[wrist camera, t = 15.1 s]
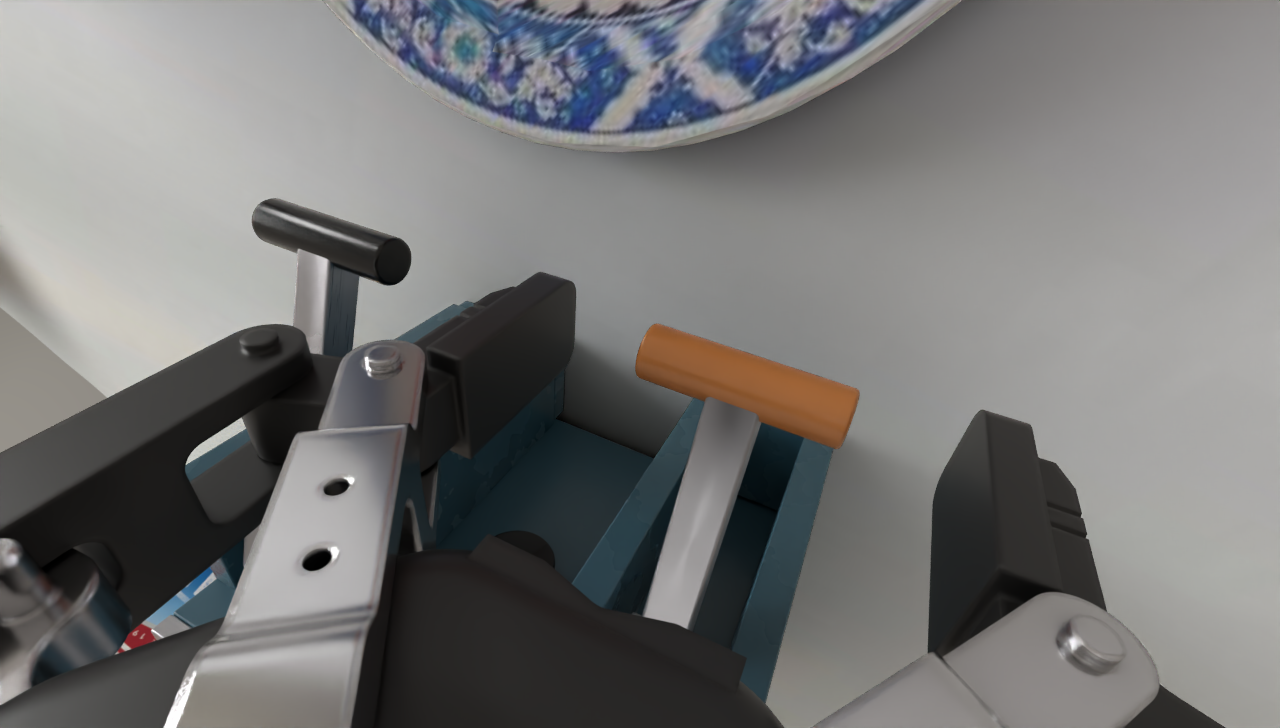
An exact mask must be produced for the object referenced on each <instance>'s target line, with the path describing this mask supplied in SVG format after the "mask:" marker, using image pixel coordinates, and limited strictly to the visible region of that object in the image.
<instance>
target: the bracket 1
mask: <svg viewBox="0 0 1280 728" xmlns="http://www.w3.org/2000/svg"><path fill="white" fill-rule="evenodd" d="M470 306H471V307H473V306H474V303H472V302H469V301H465V302H464V303H462V304H460V305H459V306H458V305H455V304H453V305H451V306H450V307H448V308H446V309H445V310H443V311H441V312H440V313H438V314H436V315H435V316H433V317H431V318H430V319H428V320H426V321H425V322H423V323H421V324H420V325H418V326H416V327H415V328H413V329H411V330H410V331H408V332H406V333H405V334H403V335H401V336H400V337H398V338H396V339H395V340H401V341H406V342H410V343H412V344H413V343H414V342H416V341H417V340H419V339H420V338H422V337H423V336H425V335H427V334H428V333H430V332H431V331H433V330H434V329H436V328H437V327H439V326H440V325H442V324H444V323H445V322H447V321H448V320H450V319H451V318H453V317H454V316H456V315H458V316H459V315H460V313H461V312H462V311H464V310H465V309H467V308H468V307H470ZM564 371H565V369H564V370H563V371H562V372H561V373H560V374H559V375H558V376H557V377H556V378H555V379H554V380H553V381H552V382H550V383H549V384H548V385H547V386H546V387H545V388H544V389H543V390H542V391H541V392H540V393H539V394H538V395H537V396H536V397H535V398H534V399H533V400H532V401H531V402H530V403H529V404H528V405H527V406H526V407H525V408H524V409H523V410H521V411H520V412H519V413H518V414H517V415H516V416H515V417H514V418H513V419H512V420H511V421H510V422H509V423H508V424H507V425H506V426H505V427H504V428H503V429H502V430H501V431H500V432H499V433H498V434H497V435H496V436H495V437H493V438H492V439H491V440H490V441H489V442H488V443H487V444H486V445H485V446H484V447H483V448H482V449H481V450H480V451H479V452H478V453H477V454H476V455H475V456H474V457H473V458H472V459H471V460H470V459H468V458H466V457H463V456H461V455H459V454H457V453H454V452H452V451H450V450H449V451H448V452H447V453H445V454H444V455H443V456H442V457H441V458H440V460H441V482H440V495H439V508H438V520H437V533H436V547H437V546H438V545H439V544H440V543H441V542H442V541H443V540H444V539H445V538H446V537H447V536H448V535H449V534H450V533H451V532H452V531H453V529H454V528H455V527H456V526H457V525H458V524H459V523H460V522H461V521H462V520H463V519H464V518H465V517H466V516H467V515H468V514H469V513H470V512H471V511H472V509H473V508H474V507H475V506H476V505H477V504H478V503H479V502H480V501H481V500H482V499H483V498H484V497H485V496H486V495H487V494H488V493H489V492H490V491H491V489H492V488H493V487H494V486H495V485H496V484H497V483H498V482H499V481H500V480H501V479H502V478H503V477H504V476H505V475H506V474H507V473H508V472H509V471H510V469H511V468H512V467H513V466H514V465H515V464H516V463H517V462H518V461H519V460H520V459H521V458H522V457H523V456H524V455H525V454H526V453H527V452H528V451H529V449H530V448H531V447H532V446H533V445H534V444H535V443H536V442H537V441H538V440H539V439H540V438H541V437H542V436H543V435H544V434H545V433H546V432H547V431H548V429H549V428H550V427H551V426H552V425H553V424H554V420H555V419H556V417H557V416H558V415H559V414H560V413H561V412H562V411H563V400H564ZM250 440H251V439H250V436H249V434H248V432H247V429H245V430H243V431H242V432H240V433H238V434H237V435H235V436H233V437H232V438H230V439H228V440H227V441H225V442H223V443H222V444H220V445H218V446H217V447H215V448H213V449H212V450H210V451H208V452H207V453H205V454H203V455H202V456H200V457H198V458H197V459H195V460H193V461H192V462H190V463H188V464H187V465H185V472H186V475H187V477H188V479H189V481H192V480H193V479H194V478H196V477H197V476H199V475H200V474H202V473H203V472H205V471H206V470H208V469H209V468H210V467H212V466H213V465H215V464H216V463H218V462H219V461H221V460H222V459H224V458H225V457H226V456H228V455H229V454H231V453H232V452H234V451H235V450H237V449H238V448H240V447H241V446H242V445H244V444H245V443H247V442H248V441H250ZM243 550H244V539H242V540H241V541H240V542H239V543H238V544H236V545H235V546H234V547H233V548H232V549H230V550H229V551H228V552H227V553H226V554H224V555H223V556H222V557H221V558H220V559H218V560H217V561H216V562H215V563H214V564H212V565H211V566H210V568H211V570H212V571H213V573H214V575H215V577H216V578H217V579H218V580H220V581H222V582H223V583H225V584H226V585H228V586H230V587H231V588H233V589H234V590H236V588H237V585H238V582H239V580H240V577H241V575H242V572H243V569H244V566H243Z"/></svg>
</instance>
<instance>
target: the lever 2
mask: <svg viewBox="0 0 1280 728" xmlns="http://www.w3.org/2000/svg"><path fill="white" fill-rule="evenodd" d="M635 371H636V375H637V376H638V377H639V378H641V379H643V380H646V381H649V382H652V383H654V384H657V385H660V386H663V387H665V388H668V389H671V390H674V391H676V392H679V393H682V394H685V395H687V396H690V397H693V398H696V399H699V400H701V401H704V406H703V409H702V412H701V416H700V419H699V423H698V426H697V429H696V433H695V436H694V440H693V443H692V447H691V450H690V453H689V457H688V460H687V464H686V467H685V470H684V474H683V477H682V481H681V484H680V487H679V491H678V494H677V498H676V501H675V505H674V508H673V511H672V515H671V518H670V522H669V525H668V528H667V532H666V535H665V539H664V542H663V545H662V549H661V552H660V556H659V559H658V562H657V566H656V569H655V573H654V576H653V580H652V583H651V586H650V590H649V593H648V597H647V600H646V603H645V607H644V610H643V614H642V617H647V618H652V619H656V620H661V621H666V622H671V623H675V624H678V625H680V626H682V627H684V628H686V629H688V630H690V631H693V628H694V625H695V622H696V619H697V616H698V613H699V610H700V607H701V604H702V601H703V598H704V595H705V592H706V589H707V586H708V583H709V580H710V577H711V574H712V571H713V568H714V565H715V562H716V559H717V556H718V553H719V550H720V546H721V543H722V540H723V537H724V534H725V531H726V528H727V525H728V522H729V519H730V516H731V513H732V510H733V507H734V504H735V501H736V498H737V495H738V492H739V489H740V486H741V483H742V480H743V477H744V474H745V471H746V468H747V465H748V461H749V458H750V455H751V452H752V449H753V446H754V443H755V440H756V437H757V434H758V431H759V428H760V425H761V422H762V423H765V424H768V425H770V426H773V427H776V428H779V429H781V430H784V431H787V432H790V433H792V434H795V435H798V436H801V437H803V438H806V439H809V440H812V441H814V442H817V443H820V444H823V445H826V446H828V447H831V448H834V449H839V448H840V447H841V446H842V444H843V442H844V440H845V438H846V435H847V433H848V430H849V427H850V425H851V422H852V419H853V416H854V413H855V410H856V407H857V404H858V400H859V396H860V393H859V390H858V389H857V388H853V387H850V386H847V385H844V384H841V383H838V382H835V381H832V380H829V379H826V378H823V377H820V376H817V375H814V374H811V373H808V372H805V371H802V370H799V369H795V368H792V367H789V366H786V365H783V364H780V363H777V362H774V361H771V360H768V359H765V358H762V357H759V356H756V355H753V354H750V353H747V352H744V351H741V350H737V349H734V348H731V347H728V346H725V345H722V344H719V343H716V342H713V341H710V340H707V339H704V338H701V337H698V336H695V335H692V334H689V333H686V332H683V331H680V330H676V329H673V328H670V327H667V326H664V325H661V324H654V325H652V326H651V327H650V328H649V330H648V331H647V333H646V334H645V336H644V338H643V340H642V342H641V345H640V347H639V350H638V354H637V358H636V366H635ZM632 614H633V615H638V616H641V615H639V614H637V613H635V612H633V613H632Z"/></svg>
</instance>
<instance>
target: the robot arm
mask: <svg viewBox="0 0 1280 728" xmlns="http://www.w3.org/2000/svg"><path fill="white" fill-rule="evenodd" d="M575 311H576V288H575V285H574V283H573V282H572V281H569V280H566V279H562V278H559V277H556V276H553V275H549V274H546V273H543V272H538V273H536V274H535V275H533V276H532V277H530V278H529V279H527V280H526V281H524V282H523V283H521V284H520V285H518V286H517V287H510V288H506V289H503V290H500V291H496V292H493V293H490V294H489V295H487V296H485V297H484V298H482V299H481V300H479V301H478V302H476V303H475V304H474V306H473V307H471V306H470V307H468V308H467V309H465V310H464V311H462V312H461V313H460V315H459V316H458V315H456V316H454V317H453V318H451V319H450V320H448V321H447V322H445V323H444V324H442V325H440V326H439V327H437V328H436V329H434V330H433V331H431V332H430V333H428V334H427V335H425V336H423V337H422V338H420V339H419V340H417V341H416V342H414V343H413V344H412V343H410V342H406V341H401V340H381V341H375V342H371V343H367V344H364V345H362V346H359V347H357V348H355V349H353V350H352V351H350V352H349V353H348V354H347V355H345V356H344V357H337V356H329V355H321V354H313V353H310V349H309V346H308V342H307V339H306V336H305V334H304V332H303V331H301V330H300V329H298V328H296V327H293V326H289V325H281V324H270V325H261V326H255V327H251V328H247V329H244V330H241V331H238V332H236V333H234V334H232V335H230V336H228V337H226V338H224V339H222V340H220V341H218V342H216V343H214V344H212V345H210V346H208V347H206V348H205V349H203V350H201V351H199V352H197V353H195V354H193V355H191V356H189V357H187V358H185V359H183V360H181V361H179V362H177V363H175V364H173V365H171V366H169V367H167V368H165V369H163V370H161V371H160V372H158V373H156V374H154V375H152V376H150V377H148V378H146V379H144V380H142V381H140V382H138V383H136V384H134V385H132V386H130V387H128V388H126V389H124V390H122V391H120V392H118V393H116V394H115V395H113V396H111V397H109V398H107V399H105V400H103V401H101V402H99V403H97V404H95V405H93V406H91V407H89V408H87V409H85V410H83V411H81V412H80V413H78V414H75V415H74V416H71V417H70V418H68V419H66V420H64V421H62V422H60V423H58V424H56V425H54V426H52V427H50V428H48V429H46V430H44V431H42V432H40V433H38V434H36V435H34V436H32V437H31V438H28V439H27V440H25V441H23V442H21V443H19V444H17V445H15V446H13V447H11V448H9V449H7V450H5V451H3V452H1V453H0V728H784V727H783V725H782V724H781V723H780V721H779V720H778V719H777V718H776V716H775V715H774V714H773V712H772V711H771V710H770V709H769V707H768V706H767V705H766V704H765V703H764V702H763V701H762V700H761V699H760V698H759V697H758V696H757V695H756V694H755V693H754V692H753V691H752V690H751V689H749V688H748V687H747V686H746V685H745V684H744V683H742V682H741V681H740V679H741V676H742V673H743V669H744V666H745V663H746V660H747V658H746V657H744V656H742V655H740V654H738V653H736V652H734V651H732V650H730V649H728V648H726V647H724V646H721V645H719V644H717V643H715V642H713V641H711V640H709V639H707V638H705V637H703V636H701V635H699V634H696V633H694V632H692V631H690V630H688V629H686V628H684V627H682V626H680V625H678V624H675V623H671V622H666V621H661V620H656V619H652V618H647V617H642V616H638V615H633V614H628V613H624V612H619V611H614V610H610V609H606V608H602V607H600V606H598V605H596V604H595V603H593V602H592V601H591V600H590V599H589V598H588V597H586V596H585V595H584V594H583V593H582V592H581V591H579V590H578V589H577V588H576V587H575V586H574V585H573V584H571V583H570V582H569V581H568V580H567V579H566V578H564V577H563V576H562V575H561V574H560V573H559V572H557V571H556V570H555V569H554V568H553V567H552V566H551V565H549V564H548V563H547V562H546V561H545V560H543V559H540V558H538V557H536V556H534V555H532V554H530V553H528V552H526V551H524V550H522V549H520V548H518V547H515V546H513V545H511V544H509V543H507V542H505V541H503V540H501V539H499V538H497V537H495V536H493V535H491V534H487V535H486V537H485V538H484V539H483V540H482V541H481V542H480V543H479V545H478V546H477V547H476V548H475V549H474V550H473V551H470V550H461V549H436V533H437V520H438V508H439V495H440V482H441V460H440V458H441V457H442V456H443V455H444V454H445V453H447V452H448V451H449V450H450V451H452V452H454V453H457V454H459V455H461V456H463V457H466V458H468V459H470V460H471V459H472V458H473V457H474V456H475V455H476V454H477V453H478V452H479V451H480V450H481V449H482V448H483V447H484V446H485V445H486V444H487V443H488V442H489V441H490V440H491V439H492V438H493V437H495V436H496V435H497V434H498V433H499V432H500V431H501V430H502V429H503V428H504V427H505V426H506V425H507V424H508V423H509V422H510V421H511V420H512V419H513V418H514V417H515V416H516V415H517V414H518V413H519V412H520V411H521V410H523V409H524V408H525V407H526V406H527V405H528V404H529V403H530V402H531V401H532V400H533V399H534V398H535V397H536V396H537V395H538V394H539V393H540V392H541V391H542V390H543V389H544V388H545V387H546V386H547V385H548V384H549V383H550V382H552V381H553V380H554V379H555V378H556V377H557V376H558V375H559V374H560V373H561V372H562V371H563V370H564V369H565V367H566V366H567V364H568V363H569V361H570V358H571V356H572V353H573V349H574V340H575ZM241 417H242V419H243V422H244V424H245V427H246V429H247V432H248V434H249V436H250V439H251V440H250V441H248V442H247V443H245V444H244V445H242V446H241V447H240V448H238V449H237V450H235V451H234V452H232V453H231V454H229V455H228V456H226V457H225V458H224V459H222V460H221V461H219V462H218V463H216V464H215V465H213V466H212V467H210V468H209V469H208V470H206V471H205V472H203V473H202V474H200V475H199V476H197V477H196V478H194V479H193V480H192V481H189V479H188V477H187V475H186V472H185V465H186V461H187V459H188V457H189V455H190V454H191V452H192V451H193V450H194V449H195V448H196V447H197V446H198V445H199V444H201V443H202V442H204V441H205V440H207V439H208V438H210V437H212V436H213V435H215V434H216V433H218V432H219V431H221V430H222V429H224V428H226V427H227V426H229V425H230V424H232V423H233V422H235V421H236V420H238V419H240V418H241ZM1081 514H1082V512H1081V508H1080V504H1079V500H1078V496H1077V493H1076V489H1075V488H1074V486H1073V485H1072V484H1071V482H1070V481H1069V480H1068V478H1067V477H1066V476H1065V475H1064V473H1063V472H1062V471H1061V469H1060V468H1059V467H1058V465H1057V464H1056V463H1053V462H1050V461H1047V460H1044V459H1041V458H1038V455H1037V450H1036V445H1035V440H1034V435H1033V430H1032V427H1031V425H1030V424H1028V423H1024V422H1021V421H1018V420H1015V419H1012V418H1008V417H1005V416H1002V415H999V414H995V413H992V412H989V411H986V410H980V411H979V412H978V413H977V414H976V415H975V416H974V418H973V420H972V421H971V423H970V425H969V426H968V428H967V430H966V432H965V433H964V435H963V437H962V439H961V441H960V442H959V444H958V446H957V448H956V449H955V451H954V453H953V455H952V456H951V458H950V460H949V462H948V463H947V465H946V467H945V469H944V471H943V472H942V474H941V477H940V479H939V481H938V484H937V487H936V490H935V494H934V499H933V509H932V539H931V569H930V599H929V629H928V654H926V655H924V656H922V657H920V658H919V659H917V660H916V661H914V662H912V663H911V664H909V665H908V666H906V667H905V668H903V669H902V670H900V671H898V672H897V673H895V674H894V675H892V676H891V677H889V678H887V679H886V680H884V681H883V682H881V683H880V684H878V685H877V686H875V687H873V688H872V689H870V690H869V691H867V692H866V693H864V694H862V695H861V696H859V697H858V698H856V699H855V700H853V701H852V702H850V703H848V704H847V705H845V706H844V707H842V708H841V709H839V710H838V711H836V712H834V713H833V714H831V715H830V716H828V717H827V718H825V719H823V720H822V721H820V722H819V723H817V724H816V725H814V726H813V727H811V728H1225V727H1224V726H1222V725H1220V724H1219V723H1217V722H1216V721H1214V720H1213V719H1211V718H1209V717H1208V716H1206V715H1205V714H1203V713H1202V712H1200V711H1198V710H1197V709H1195V708H1194V707H1192V706H1191V705H1189V704H1188V703H1186V702H1184V701H1183V700H1181V699H1180V698H1178V697H1177V696H1175V695H1174V694H1172V693H1171V692H1170V691H1168V690H1167V689H1165V688H1164V687H1163V686H1162V685H1160V684H1159V675H1158V672H1157V668H1156V666H1155V664H1154V662H1153V659H1152V658H1151V656H1150V655H1149V653H1148V651H1147V650H1146V648H1145V647H1144V646H1143V645H1142V643H1141V642H1140V641H1139V639H1138V638H1137V637H1136V636H1135V635H1134V634H1133V633H1132V632H1131V631H1130V630H1129V629H1128V628H1127V627H1126V626H1124V625H1123V624H1122V623H1121V622H1120V621H1119V620H1117V619H1116V618H1115V617H1113V616H1112V615H1111V614H1109V613H1108V612H1107V610H1106V606H1105V602H1104V598H1103V594H1102V590H1101V586H1100V582H1099V578H1098V575H1097V571H1096V567H1095V563H1094V559H1093V555H1092V551H1091V547H1090V543H1089V540H1088V539H1086V535H1087V532H1086V528H1085V524H1084V520H1083V518H1081ZM259 525H260V527H259V530H258V533H257V535H256V538H255V541H254V543H253V546H252V548H251V551H250V554H249V556H248V559H247V561H246V564H245V567H244V569H243V572H242V575H241V577H240V580H239V582H238V585H237V588H236V590H235V593H234V596H233V598H232V601H231V603H230V606H229V609H228V611H227V614H226V616H225V617H222V618H219V619H217V620H214V621H211V622H208V623H205V624H202V625H199V626H196V627H193V628H191V629H188V630H185V631H182V632H179V633H176V634H173V635H170V636H168V637H165V638H162V639H159V640H156V641H153V642H150V643H147V644H144V645H142V646H139V647H136V648H133V649H130V650H127V651H124V652H121V653H119V654H116V652H117V651H118V650H119V649H120V648H121V646H122V645H123V643H124V642H125V640H126V638H127V636H128V634H129V633H130V632H132V631H133V630H134V629H135V628H136V627H138V626H139V625H140V624H141V623H143V622H144V621H145V620H146V619H147V618H149V617H150V616H151V615H152V614H153V613H155V612H156V611H157V610H158V609H159V608H161V607H162V606H163V605H164V604H165V603H167V602H168V601H169V600H170V599H171V598H173V597H174V596H175V595H176V594H177V593H179V592H180V591H181V590H182V589H183V588H185V587H186V586H187V585H188V584H189V583H191V582H192V581H193V580H194V579H196V578H197V577H198V576H199V575H200V574H202V573H203V572H204V571H205V570H206V569H208V568H209V567H210V566H211V565H212V564H214V563H215V562H216V561H217V560H218V559H220V558H221V557H222V556H223V555H224V554H226V553H227V552H228V551H229V550H230V549H232V548H233V547H234V546H235V545H236V544H238V543H239V542H240V541H241V540H242V539H244V538H245V537H246V536H247V535H249V534H250V533H251V532H252V531H253V530H255V529H256V528H257V527H258V526H259ZM115 654H116V655H115Z"/></svg>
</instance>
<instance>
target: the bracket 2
mask: <svg viewBox="0 0 1280 728" xmlns="http://www.w3.org/2000/svg"><path fill="white" fill-rule="evenodd" d="M703 406H704V401H701V400H699V399H696V398H693V400H692V401H691V403H690V405H689V406H688V408H687V409H686V411H685V412H684V414H683V415H682V417H681V418H680V420H679V421H678V423H677V424H676V426H675V427H674V429H673V430H672V432H671V433H670V435H669V436H668V438H667V440H666V441H665V443H664V444H663V446H662V447H661V449H660V450H659V452H658V453H657V455H656V456H655V458H654V459H653V461H652V462H651V464H650V465H649V467H648V468H647V470H646V472H645V473H644V475H643V476H642V478H641V479H640V481H639V482H638V484H637V485H636V487H635V488H634V490H633V491H632V493H631V494H630V496H629V497H628V499H627V500H626V502H625V504H624V505H623V507H622V508H621V510H620V511H619V513H618V514H617V516H616V517H615V519H614V520H613V522H612V523H611V525H610V526H609V528H608V529H607V531H606V532H605V534H604V536H603V537H602V539H601V540H600V542H599V543H598V545H597V546H596V548H595V549H594V551H593V552H592V554H591V555H590V557H589V558H588V560H587V561H586V563H585V564H584V566H583V567H582V569H581V571H580V572H579V574H578V575H577V577H576V578H575V580H574V581H573V583H572V584H573V585H574V586H575V587H576V588H577V589H578V590H579V591H581V592H582V593H583V594H584V595H585V596H586V597H588V598H589V599H590V600H591V601H592V602H593V603H595V604H596V605H598V606H600V607H602V608H606V609H610V610H614V611H619V612H624V613H628V614H632V613H633V612H635V613H637V612H638V610H639V608H640V606H641V604H642V602H643V601H644V599H645V597H646V595H647V593H648V591H649V589H650V586H651V583H652V580H653V576H654V573H655V569H656V566H657V562H658V559H659V556H660V552H661V549H662V545H663V542H664V539H665V535H666V532H667V528H668V525H669V522H670V518H671V515H672V511H673V508H674V505H675V501H676V498H677V494H678V491H679V487H680V484H681V481H682V477H683V474H684V470H685V467H686V464H687V460H688V457H689V453H690V450H691V447H692V443H693V440H694V436H695V433H696V429H697V426H698V423H699V419H700V416H701V412H702V409H703ZM833 449H834V448H831V447H828V446H826V445H823V444H820V443H817V442H814V441H812V440H809V439H806V438H803V437H801V436H798V435H795V434H792V433H790V432H787V431H784V430H781V429H779V428H776V427H773V426H770V425H768V424H765V423H762V422H761V425H760V428H759V431H758V434H757V437H756V440H755V443H754V446H753V449H752V452H751V455H750V458H749V461H748V465H747V468H746V471H745V474H744V477H743V480H742V483H741V486H740V489H739V492H738V495H740V496H742V497H745V498H747V499H750V500H752V501H755V502H757V503H760V504H762V505H764V506H767V507H769V508H772V509H774V510H777V513H776V516H775V519H774V522H773V525H772V528H771V531H770V534H769V537H768V539H767V542H766V545H765V548H764V551H763V554H762V557H761V560H760V563H759V565H758V568H757V571H756V574H755V577H754V580H753V583H752V586H751V589H750V592H749V594H748V597H747V600H746V603H745V606H744V609H743V612H742V615H741V618H740V621H739V623H738V626H737V629H736V632H735V635H734V638H733V641H732V644H731V647H730V650H732V651H734V652H736V653H738V654H740V655H742V656H744V657H746V658H747V660H746V663H745V666H744V669H743V673H742V676H741V679H740V681H741V682H742V683H744V684H745V685H746V686H747V687H748V688H749V689H751V690H752V691H753V692H754V693H755V694H756V695H757V696H758V697H759V698H760V699H761V700H762V701H763V702H764V703H766V700H767V696H768V692H769V688H770V685H771V681H772V677H773V673H774V670H775V666H776V662H777V659H778V655H779V651H780V647H781V644H782V640H783V636H784V632H785V629H786V625H787V621H788V617H789V614H790V610H791V606H792V602H793V599H794V595H795V591H796V587H797V584H798V580H799V576H800V572H801V569H802V565H803V561H804V557H805V554H806V550H807V546H808V542H809V539H810V535H811V531H812V527H813V524H814V520H815V516H816V512H817V509H818V505H819V501H820V498H821V494H822V490H823V486H824V483H825V479H826V475H827V471H828V468H829V464H830V460H831V456H832V453H833Z"/></svg>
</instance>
